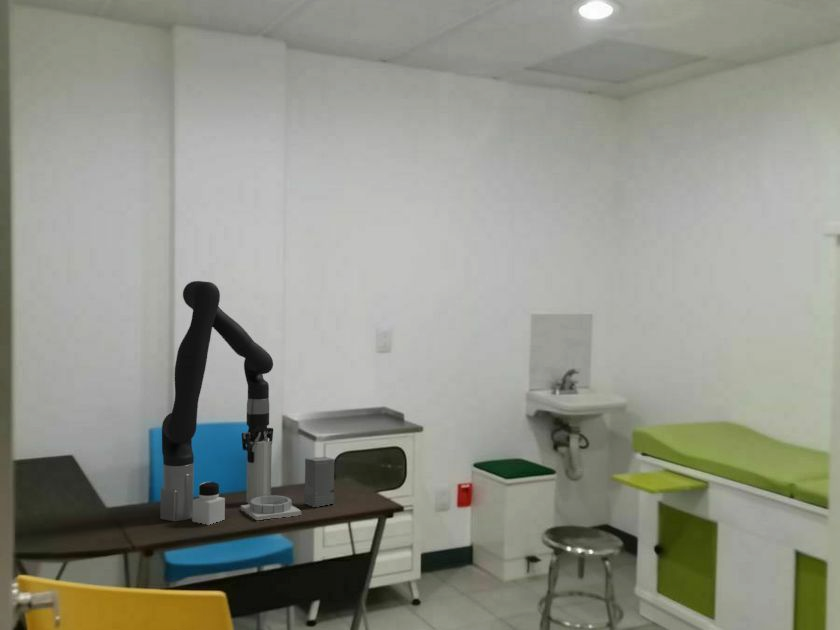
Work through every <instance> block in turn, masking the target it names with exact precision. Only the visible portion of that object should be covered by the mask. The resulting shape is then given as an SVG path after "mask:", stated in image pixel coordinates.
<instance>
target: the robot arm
mask: <svg viewBox="0 0 840 630" xmlns="http://www.w3.org/2000/svg"><path fill="white" fill-rule="evenodd" d="M182 291H183V292H182V298H183V301H184V303H185V304H186V305H187V306H188V307H189V308H190V309H191V310H192V315H191V321H190V324H189V327H188V329H187V331H186V333H185V335H184V337H183V339H182V340H181V342H180V344H179V347H178V349H177V353H176V354H177V355H176V358H175V359H176V361H175V365H174V401H173V407H172V410H171V413H170V412H169V414H167V415H166V416H165V418H164V419H163V421H162V424H161V452H162V453H161V454H162V458H163V467H162V468H163V469H162V476H163V477H162V488H160V509H159V510H160V516H159V517H160V518H159V519H161V520H165V521H169V522H170V521H171V522H179V521H186V520H189V519H192V514H193V499H194V473H195V472H194V469H195V468H194V467H195V466H194V465H195V464H194V463H195V462H194V460H195V458H194V457H195V456H194V455H195V454H194V452H193V446H192V443H193V442H192V440H193V437H194V436H195V435H196V431H197V424H198V423H197V422H198V407H199V398H200V394H201V391H202V386H203V381H204V378H205V377H204V376H205V372H206V368H207V367H206V366H207V361H208V353H209V346H210V342H211V337H212V336H211V335H212V332H213V329H214V330H215V331H216V332H217V334H219V336H221V338H222V339H223V341H225V342H226V343H227V345H229V347H230V348H231V349H232V350H233V351H234V353H235V354H237V355H238V356H239V357H242V358H244V361H243V369H244V370H243V371H244V375H245V380H246V383H247V399H246V400H247V402H246V426H247V427H248V430H247V431H246V432H242V433H241V445H242V451H246V461H247V460H248V462H249V463H254V449H255V446H256V445H257V443H258V442H259V441H265V442H268V441H272V442H273V438H274V428H273V427H268V426H270V398H269V397H270V396H269V394H270V393H269V392H270V391H269V390H270V387H269V386H270V385H269V382H268V381H267V380H265V378H264V375H266V374H269V373H270V372H271V371H272V370H273V366H274V361H273V357H272V356H271V354H270V353H268V351H267V350H266V349H264V348H263V347H262V346H260V344H259V343H257V342H255V340H254V339H253V338H252V336H250V334H249V333H248V332H247V331H246V330H245V329H244V328H243V327H242V326H241V325H240V323H238V322H237V321H235V320H234V319H233V318H232V317H230V316H229V315H228V314H227V313H226V312H225V311H223V310H222V308H220V306H219V305H220V300H221V295H220V294H221V292H220V290H219V287H218V286H217V285H216V284H215V283H214V282H210V281H202V280H195V281H190V282H188V283H187V284H186V285H185V287H184V288H183V290H182ZM251 440H252V442H251ZM250 444H252V448H251V447H250Z"/></svg>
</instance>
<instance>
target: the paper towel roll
mask: <svg viewBox="0 0 840 630" xmlns="http://www.w3.org/2000/svg"><path fill="white" fill-rule="evenodd" d="M251 442H252V440H251ZM272 445H273V440H272V441H269V440H268V442H265V441H259V442H258V443H257V445H256V446H255V449H254V463H249V462H248V460H247V459H246V502H247V503H248V504H247V503H246V504H247V505H249V504H250V501H251V499H253V498H256V497H260V496H272V455H273V454H272V453H273V452H272ZM250 447H251V448H252V444H250Z"/></svg>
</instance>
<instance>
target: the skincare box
mask: <svg viewBox="0 0 840 630" xmlns="http://www.w3.org/2000/svg"><path fill="white" fill-rule="evenodd" d="M304 464H305V465H304V466H305V467H304V505H306V504H307V505H306V506H309V507H311V506H312V507H311V508H314V507H317V508H320V507H319V506H323V507H326V506H325V505H328V506H331V505H330V504H333V505H334V504H335V503H334V502H335V459H334V458H331V457H327V456H320V457H318V456H317V457H307V458H305V459H304Z"/></svg>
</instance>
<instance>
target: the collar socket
mask: <svg viewBox="0 0 840 630" xmlns="http://www.w3.org/2000/svg"><path fill="white" fill-rule="evenodd" d="M292 503H293V502H292V498H290V497H288V496H284V495H271V496H260V497H256V498H253V499H251V501H250V504H243V505H242V504H241V505H240V510H241V509H242V510H243V511H245V512H246V513H247V514H249V515H250V516H252V517H253V518H254V519H255V520H263V519H271V518H279V519H283V518H282V517H286V518H292V517H291V516H294V517H299V516H298V515H301V516H302V510H300V509H299V508H297V506H295V505H293V504H292ZM242 510H241V511H242ZM243 511H242V512H243ZM246 513H245V514H246ZM247 514H246V515H247ZM250 516H249V517H250ZM253 518H252V519H253ZM254 519H253V520H254ZM255 520H254V521H255ZM271 520H272V519H271Z"/></svg>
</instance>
